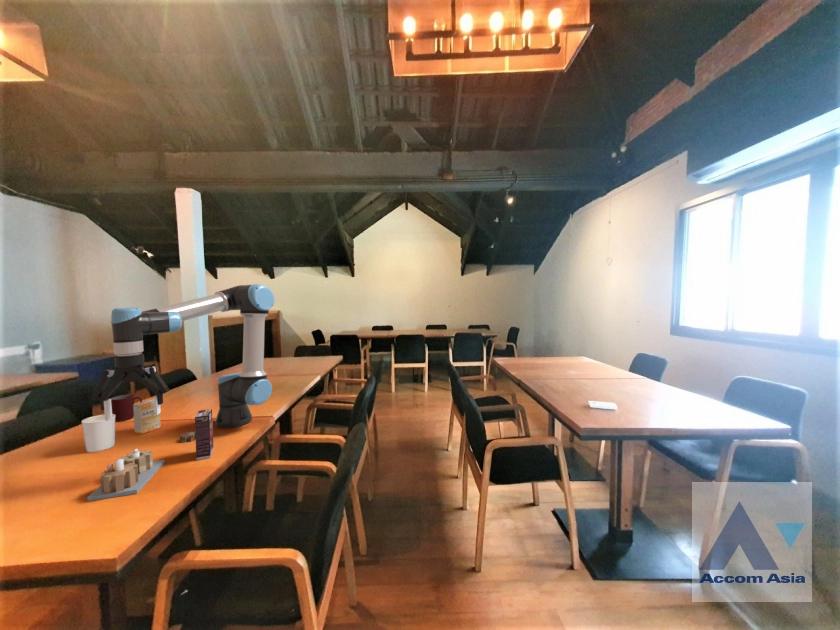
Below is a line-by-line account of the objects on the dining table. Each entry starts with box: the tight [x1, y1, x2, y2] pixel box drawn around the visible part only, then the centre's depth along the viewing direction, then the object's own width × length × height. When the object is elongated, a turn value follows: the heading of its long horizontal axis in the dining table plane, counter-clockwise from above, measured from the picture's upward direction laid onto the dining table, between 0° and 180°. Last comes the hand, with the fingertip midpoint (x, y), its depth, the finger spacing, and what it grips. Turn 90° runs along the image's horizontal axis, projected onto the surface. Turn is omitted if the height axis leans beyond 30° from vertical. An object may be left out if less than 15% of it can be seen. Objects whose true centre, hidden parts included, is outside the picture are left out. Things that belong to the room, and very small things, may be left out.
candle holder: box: [81, 413, 116, 453], centre depth 135 cm, size 10×10×12 cm
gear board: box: [86, 448, 165, 502], centre depth 110 cm, size 12×20×9 cm, turn 17°
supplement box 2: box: [194, 408, 215, 461], centre depth 128 cm, size 9×5×16 cm, turn 25°
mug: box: [110, 394, 143, 423], centre depth 168 cm, size 12×9×11 cm
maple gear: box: [118, 449, 153, 474], centre depth 114 cm, size 8×8×5 cm
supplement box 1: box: [133, 398, 161, 435], centre depth 152 cm, size 8×5×13 cm, turn 161°
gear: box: [178, 430, 196, 444], centre depth 142 cm, size 6×6×2 cm
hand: (133, 416), depth 115 cm, fingers open, 13 cm apart
